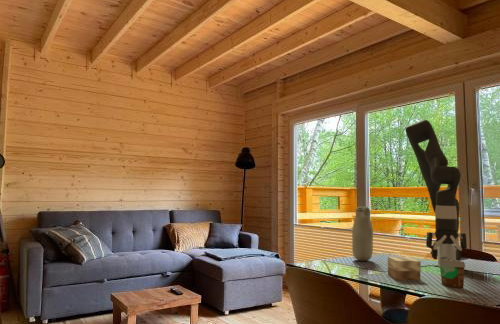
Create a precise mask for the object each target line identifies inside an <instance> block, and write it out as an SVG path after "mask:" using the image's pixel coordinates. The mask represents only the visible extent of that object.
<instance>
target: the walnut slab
mask: <svg viewBox="0 0 500 324" xmlns="http://www.w3.org/2000/svg"><path fill="white" fill-rule="evenodd" d="M387 275H388V277H390V278H391V279H393V280H394V281H407V280H417V281H416V282H420V281H421V271H395V270H393V269H392V268H390V267H388V266H387Z"/></svg>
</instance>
